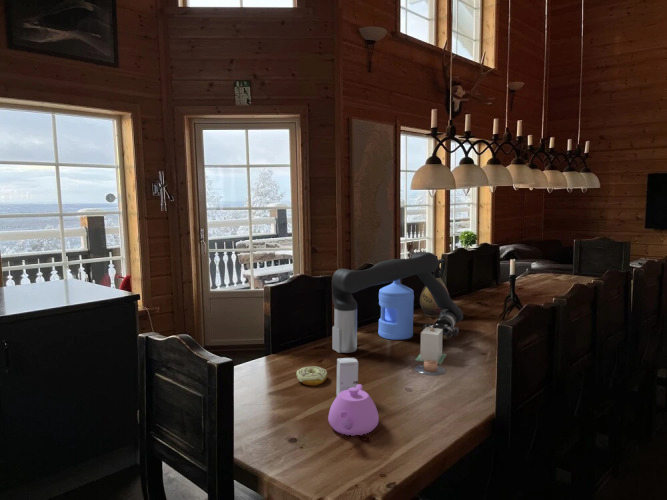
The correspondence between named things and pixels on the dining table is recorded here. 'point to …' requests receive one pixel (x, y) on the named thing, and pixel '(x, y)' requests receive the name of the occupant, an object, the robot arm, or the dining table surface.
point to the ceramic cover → (431, 344)
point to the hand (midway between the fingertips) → (437, 334)
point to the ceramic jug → (426, 297)
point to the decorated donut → (311, 375)
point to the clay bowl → (430, 365)
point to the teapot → (353, 412)
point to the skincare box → (346, 374)
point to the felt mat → (438, 360)
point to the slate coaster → (439, 372)
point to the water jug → (396, 311)
